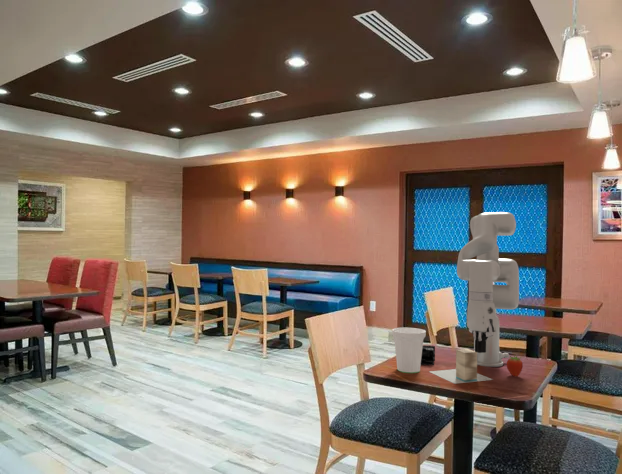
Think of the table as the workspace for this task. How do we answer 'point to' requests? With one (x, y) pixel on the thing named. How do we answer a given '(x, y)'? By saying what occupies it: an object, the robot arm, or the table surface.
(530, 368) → the table surface
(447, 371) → the mat
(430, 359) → the black box
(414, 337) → the cup
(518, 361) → the fruit
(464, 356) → the beech block
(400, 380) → the table surface
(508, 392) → the table surface
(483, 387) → the table surface
